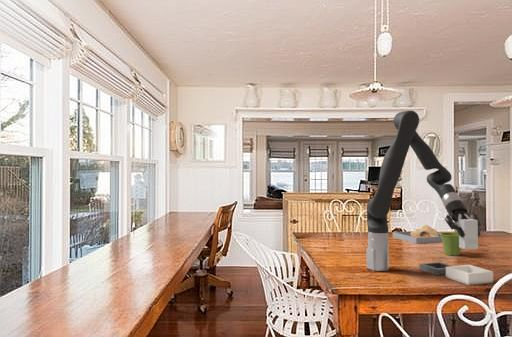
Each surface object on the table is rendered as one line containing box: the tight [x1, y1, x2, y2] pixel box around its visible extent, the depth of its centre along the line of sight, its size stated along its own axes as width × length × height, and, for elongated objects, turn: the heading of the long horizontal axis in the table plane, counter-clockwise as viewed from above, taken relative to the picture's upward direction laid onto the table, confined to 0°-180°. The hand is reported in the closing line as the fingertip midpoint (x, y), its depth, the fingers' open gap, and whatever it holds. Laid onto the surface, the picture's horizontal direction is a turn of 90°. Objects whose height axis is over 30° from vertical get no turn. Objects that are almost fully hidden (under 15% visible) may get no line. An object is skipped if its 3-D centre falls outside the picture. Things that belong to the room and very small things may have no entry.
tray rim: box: [392, 230, 443, 245], centre depth 266 cm, size 24×24×4 cm
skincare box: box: [459, 219, 479, 250], centre depth 169 cm, size 6×4×12 cm
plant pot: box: [439, 231, 462, 257], centre depth 219 cm, size 12×12×11 cm
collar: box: [419, 261, 451, 276], centre depth 184 cm, size 11×11×2 cm
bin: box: [445, 264, 494, 286], centre depth 169 cm, size 12×12×4 cm
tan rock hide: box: [410, 224, 439, 238], centre depth 263 cm, size 18×14×8 cm
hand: (470, 235), depth 167 cm, fingers closed on skincare box, 6 cm apart
